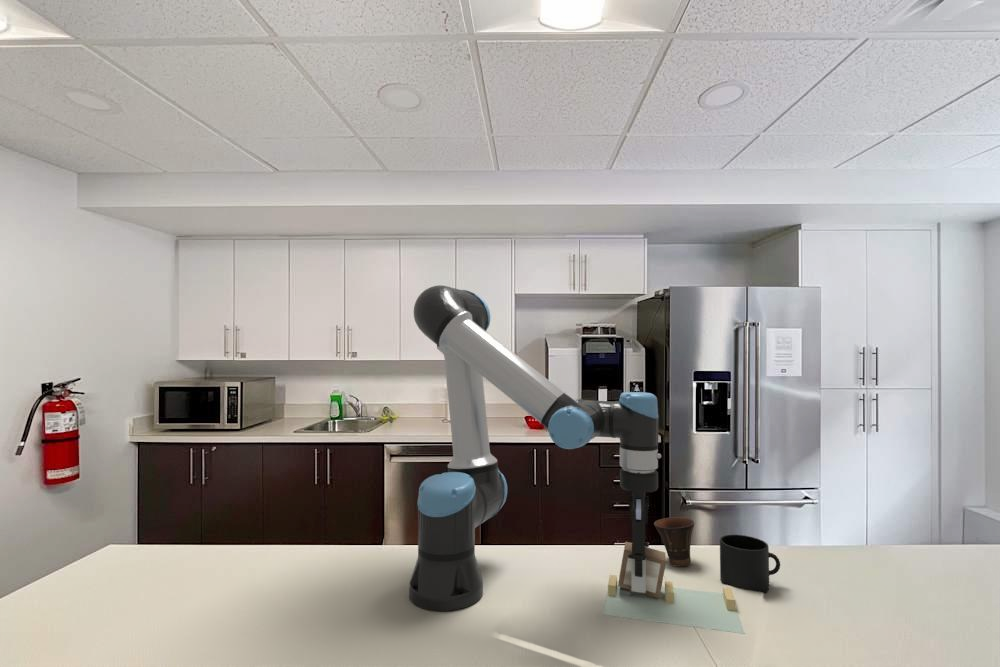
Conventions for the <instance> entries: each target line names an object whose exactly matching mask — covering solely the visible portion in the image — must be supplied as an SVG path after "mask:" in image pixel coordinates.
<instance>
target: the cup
mask: <svg viewBox="0 0 1000 667" xmlns="http://www.w3.org/2000/svg"><path fill="white" fill-rule="evenodd" d="M653 525H654V527H655V529H656V530H657V532H658V534H659V537H660V538H661V540H662V543H663V545H664V548H665V551H666V553H667V556H668V562H669V564H670V565H671V566H673V567H674V566H675V567H687V566H689V565H691V563H692V560H691V543H692V535H693V530H694V526H695V521H694V520H693V519H691V518H687V517H680V516H677V517H675V516H674V517H665V518H661V519H658V520H655V521H654V522H653Z"/></svg>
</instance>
